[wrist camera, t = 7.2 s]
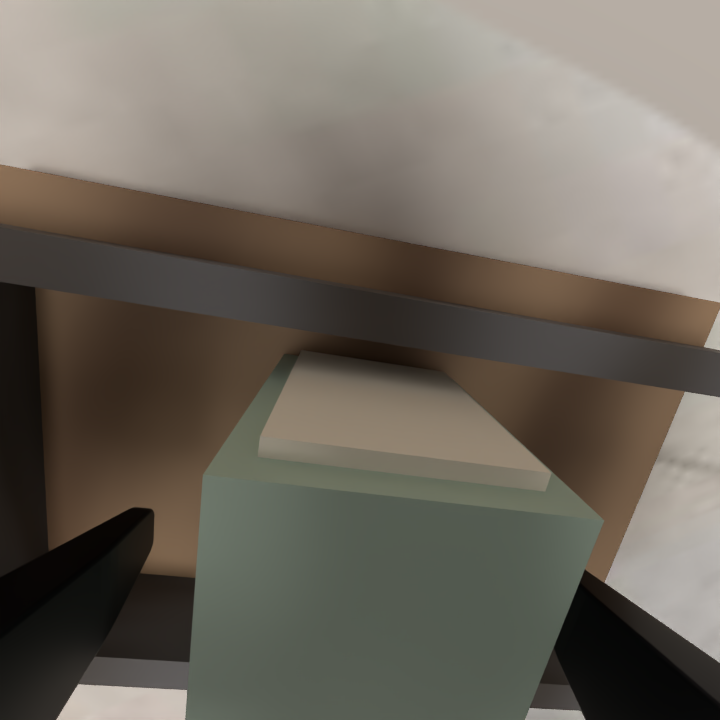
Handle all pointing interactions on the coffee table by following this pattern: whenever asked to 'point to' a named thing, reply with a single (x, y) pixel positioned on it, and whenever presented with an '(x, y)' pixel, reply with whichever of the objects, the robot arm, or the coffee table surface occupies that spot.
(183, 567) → the cradle
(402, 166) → the coffee table surface
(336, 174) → the coffee table surface
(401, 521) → the cabinet block
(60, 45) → the coffee table surface
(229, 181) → the coffee table surface
